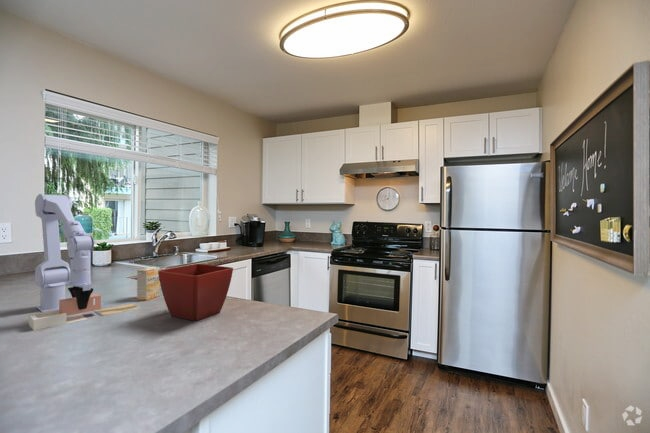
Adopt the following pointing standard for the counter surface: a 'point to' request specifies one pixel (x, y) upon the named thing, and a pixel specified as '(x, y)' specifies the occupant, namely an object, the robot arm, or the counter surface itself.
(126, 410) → the counter surface
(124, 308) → the cork mat
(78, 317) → the dispenser sleeve
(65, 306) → the pink block
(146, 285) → the supplement box
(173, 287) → the plant pot
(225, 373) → the counter surface
